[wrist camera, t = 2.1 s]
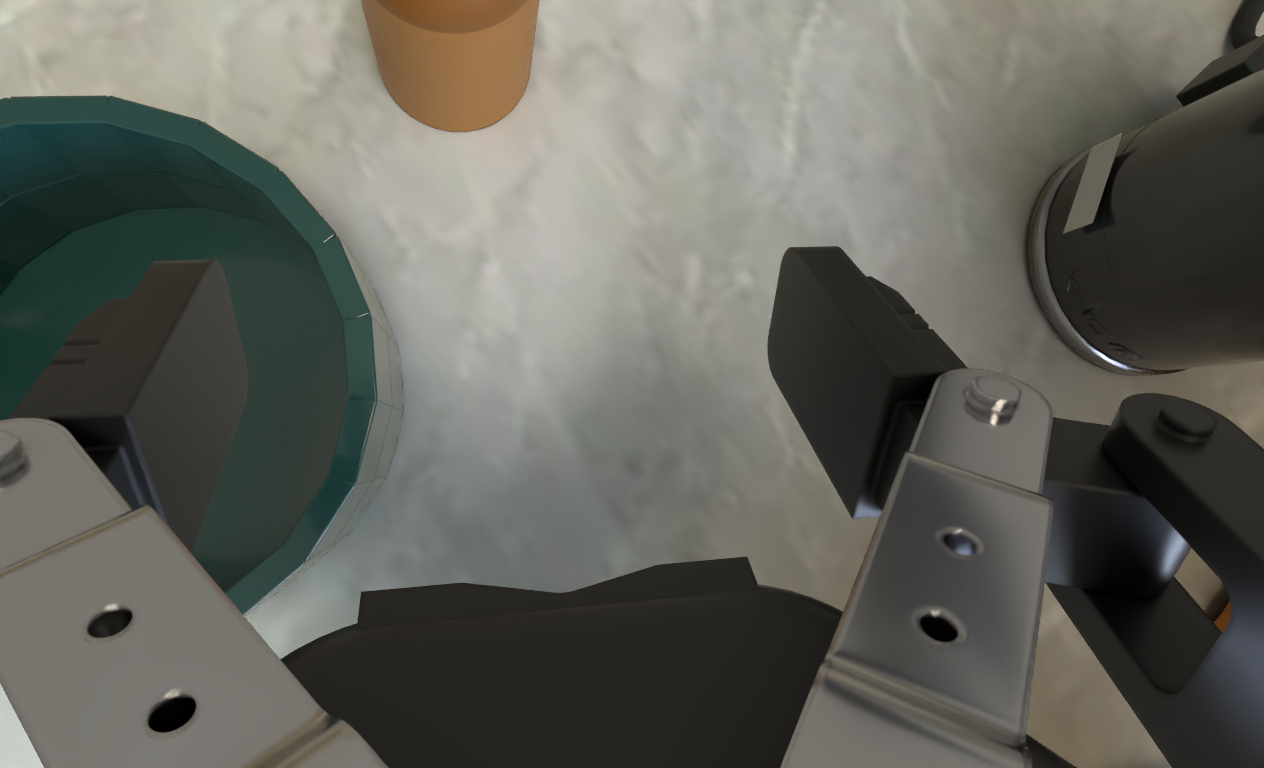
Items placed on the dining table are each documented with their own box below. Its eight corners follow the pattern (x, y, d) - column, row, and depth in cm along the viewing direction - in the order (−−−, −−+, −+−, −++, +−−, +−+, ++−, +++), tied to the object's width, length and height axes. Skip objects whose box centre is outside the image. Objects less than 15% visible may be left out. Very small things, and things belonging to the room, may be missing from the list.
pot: (218, 110, 27) (121, -14, 20) (486, 417, 28) (489, 408, 21) (-154, 372, 25) (-424, 342, 17) (152, 701, 26) (20, 805, 18)
